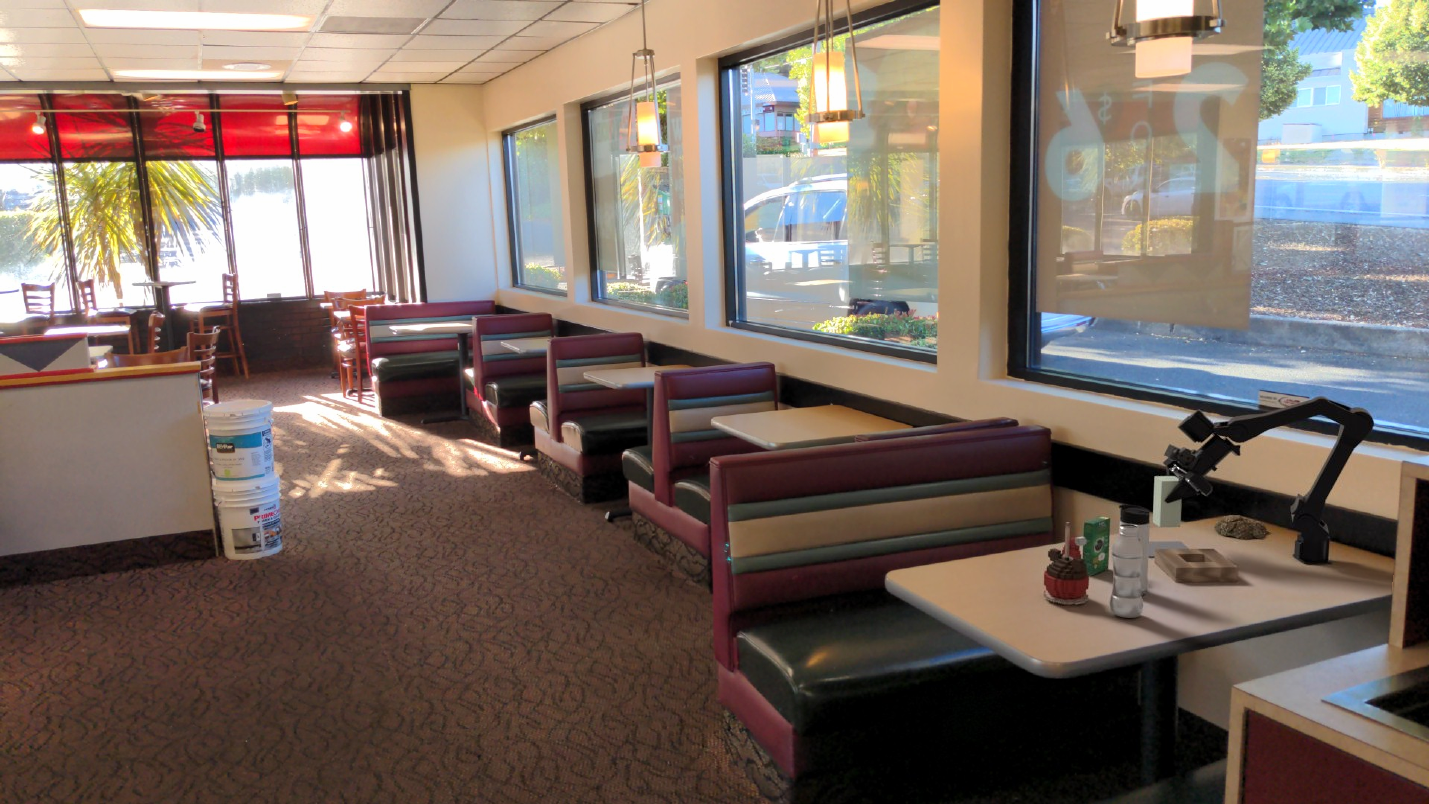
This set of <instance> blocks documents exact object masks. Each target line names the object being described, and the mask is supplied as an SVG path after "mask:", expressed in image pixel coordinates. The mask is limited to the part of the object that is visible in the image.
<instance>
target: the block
mask: <svg viewBox="0 0 1429 804" xmlns="http://www.w3.org/2000/svg"><path fill="white" fill-rule="evenodd" d="M1178 481H1179V478H1177V477H1175V476H1167V475H1164V476H1163V475H1160V476H1159V475H1156V476H1154V483H1153V507H1152V508H1153V509H1152V510H1153V511H1152V522H1153V523H1154V524H1155V525H1156V526H1157V527H1159V528H1180V527H1181V523H1182V521H1181V518H1182V500H1183V499H1180V500H1177V501H1174V502H1171V503H1166V502H1165V499H1166V498H1167V496H1168V495H1169V494H1170V493H1171V492H1172V490H1173V489H1174V488H1175V487H1176V486H1177V485H1178Z"/></svg>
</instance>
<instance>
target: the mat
mask: <svg viewBox="0 0 1429 804" xmlns="http://www.w3.org/2000/svg"><path fill="white" fill-rule="evenodd" d="M1155 549H1190V548H1189V547H1188V546H1187V545H1185V544H1184V543H1183V542H1182V541H1179V540H1178V541H1175V540H1173V541H1163V540H1162V541H1157V540H1156V541H1149V553H1148V559H1150V558H1151V559H1152V558H1154V559H1155Z"/></svg>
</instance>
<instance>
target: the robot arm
mask: <svg viewBox="0 0 1429 804" xmlns="http://www.w3.org/2000/svg"><path fill="white" fill-rule="evenodd" d="M1317 416H1322V417H1325V418H1327V419H1328V420H1330V421H1333V422H1335V423H1337V424H1339V425H1340V426H1339V429H1338V430H1339V431H1338V435H1337V439H1336V441H1335V443H1334V445H1333V447H1332V449H1331V451H1330V453H1329V454H1328V456H1327V458H1326V459H1325V462H1324V463H1323V465H1322V467H1321V469H1320V470H1319V473H1318V475H1317V477H1316V478H1315V480H1314V482H1313V484H1312V486H1311V487H1310V489H1309V490H1308V492H1306V493H1305V494H1304V495H1302V494H1300V493H1297V495H1296V498H1295V501H1294V503H1293V504H1292V505H1290V512H1291V520H1292V524H1293V526H1294V527H1295V529H1297V530H1298V531H1299V532H1301V533H1297V535H1296V539H1295V541H1294V550H1293V554H1292V557H1293V558H1295V559H1297V561H1300V562H1301V563H1303V564H1306V565H1308V564H1310V565H1313V564H1314V565H1318V564H1319V565H1321V564H1323V565H1325V564H1329V565H1330V564H1331V565H1332V564H1333V561H1332V560H1330V559H1329V557H1330V555H1329V554H1330V544H1331V543H1330V542H1331V537H1330V533H1329V532H1330V531H1329V529H1328V525H1327V523H1326V522H1324V520H1322V519H1323V518H1322V517H1323V515H1324V510H1325V505H1326V501H1327V499H1328V497H1329V495H1330V494H1331V491H1332V490H1333V488H1334V487H1335V484H1336V483H1337V481H1338V479H1339V477H1340V475H1341V473H1342V471H1344V468H1345V466H1346V464H1347V463H1348V461H1349V459H1350V457H1351V456H1352V453H1353V452H1354V450H1355V449H1356V448H1357V447H1358V446H1359V445H1360V444H1361V443H1362V442H1363V441H1364V440H1365V439H1366V438H1367V436H1369V434H1370V433H1371V431H1373V429H1374V426H1375V421H1374V419H1373V416H1372V415H1371V413H1370V412H1369V411H1368V410H1367V409H1366V408H1364V407H1359V406H1356V407H1355V406H1354V407H1350V406H1347V405H1345V404H1343V403H1340V402H1338V401H1335V400H1331V399H1329V398H1327V397H1326V396H1321V395H1320V396H1319V395H1318V396H1316V397H1314V398H1312V399H1308V400H1305V401H1303V402H1299V403H1295V404H1291V405H1288V406H1285V407H1281V408H1278V409H1275V410H1271V411H1268V412H1264V413H1258V414H1257V413H1255V414H1245V415H1244V414H1243V415H1237V416H1234V417H1232V418H1230V419H1229V420H1226V421H1217V422H1216V421H1215V422H1213V421H1212V420H1211V419H1209V417H1208V416H1206V414H1204V412H1203V411H1202V410H1201V409H1200V408H1199V409H1197V410H1195V412H1193V413H1191V414H1190V415H1188V416H1187V417H1185V418H1184V419H1183V420H1182V421H1181V422H1180V423H1179V424H1178V426H1177V429H1179V430H1180V431H1181V432H1182V433H1183V434H1184V435H1185V436H1186V437H1187V438H1189V440H1191V441H1192V442H1193V444H1194V443H1200V444H1202V443H1203V445H1200V448H1198V449H1195V448H1194V449H1189V448H1187V447H1184V446H1183V447H1181V448H1180V447H1178V446H1175V445H1173V444H1171V443H1170V444H1168V446H1167V448H1166V450H1165V452H1164V453H1163V456H1165V457H1167V458H1166V459H1165V461H1163V462H1162V464H1163V465H1164V467H1165V470H1166V471H1165V472H1166V476H1175V477H1177V478H1179V481H1178V485H1177V486H1176V487H1175V488H1174V489H1173V490H1172V492H1171V493H1170V494H1169V495H1168V496H1167V498H1166V499H1165V502H1166V503H1171V502H1174V501H1177V500H1180V499H1182V500H1183V499H1187V498H1190V497H1193V496H1196V495H1197V496H1198V495H1200V493H1201V494H1202V495H1204V496H1205V497H1208V496H1209V495H1210V494H1211V493H1212V492H1213V485H1212V484H1211V483H1210V482H1209V481H1208V480H1207V479H1206V478H1205V477H1206V476H1207V475H1208V474H1209V473H1210V472H1211V471H1213V472H1215V473H1216V471H1217V470H1218V468H1217V465H1219V464H1220V463H1221V462H1222V461H1223V460H1224V459H1225V458H1226V457H1227V456H1229V454H1231V453H1232V454H1233V455H1234V456H1236V457H1239V456H1241V454H1242V453H1241V447H1242V446H1241V444H1242V443H1244V444H1245V443H1246V442H1248V441H1250V440H1252V439H1255V438H1257V437H1258V436H1261V435H1262V434H1263V433H1265V432H1267V431H1270V430H1273V429H1275V428H1279V427H1283V426H1287V425H1290V424H1293V423H1296V422H1299V421H1303V420H1307V419H1310V418H1314V417H1317ZM1210 436H1211V437H1210ZM1222 437H1223V438H1222ZM1206 440H1207V441H1206ZM1205 441H1206V442H1205ZM1204 442H1205V443H1204ZM1233 442H1234V443H1236V444H1234V443H1233ZM1199 491H1200V492H1199Z"/></svg>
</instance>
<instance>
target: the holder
mask: <svg viewBox="0 0 1429 804" xmlns="http://www.w3.org/2000/svg"><path fill="white" fill-rule="evenodd" d="M1154 564H1155V565H1156V566H1157V567H1158V568H1159V569H1160V570H1161V571H1162V572H1164V573H1165V574H1166V575H1167V574H1168V575H1167V576H1168V577H1169V578H1170V577H1171V578H1170V579H1171V580H1172V581H1174V582H1175V583H1215V582H1216V583H1221V582H1222V583H1227V582H1228V583H1229V582H1233V583H1235V582H1238V580H1239V579H1238V577H1239V575H1238V574H1239V567H1238V565H1236V564H1234V563H1233V562H1232V561H1230V560H1229V559H1228V558H1226V557H1225V556H1224V555H1223V554H1222V553H1220V552H1219V551H1217V550H1216V549H1215V548H1189V549H1155V558H1154Z"/></svg>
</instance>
